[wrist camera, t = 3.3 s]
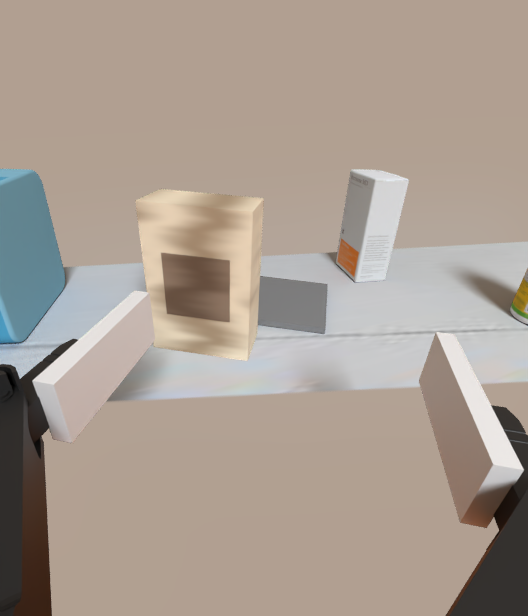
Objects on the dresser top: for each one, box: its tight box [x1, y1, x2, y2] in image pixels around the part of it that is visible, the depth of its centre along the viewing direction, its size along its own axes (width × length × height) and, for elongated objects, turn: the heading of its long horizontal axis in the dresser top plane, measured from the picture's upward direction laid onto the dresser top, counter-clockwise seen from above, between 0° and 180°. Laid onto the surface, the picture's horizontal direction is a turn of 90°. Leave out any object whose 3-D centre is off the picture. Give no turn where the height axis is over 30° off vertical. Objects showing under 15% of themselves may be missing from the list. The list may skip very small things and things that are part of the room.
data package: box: [0, 169, 65, 343], centre depth 30 cm, size 12×4×12 cm, turn 8°
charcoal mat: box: [258, 276, 327, 334], centre depth 37 cm, size 16×10×1 cm, turn 80°
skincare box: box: [336, 170, 409, 283], centre depth 42 cm, size 6×4×12 cm
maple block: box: [136, 189, 264, 361], centre depth 28 cm, size 8×4×12 cm, turn 80°
